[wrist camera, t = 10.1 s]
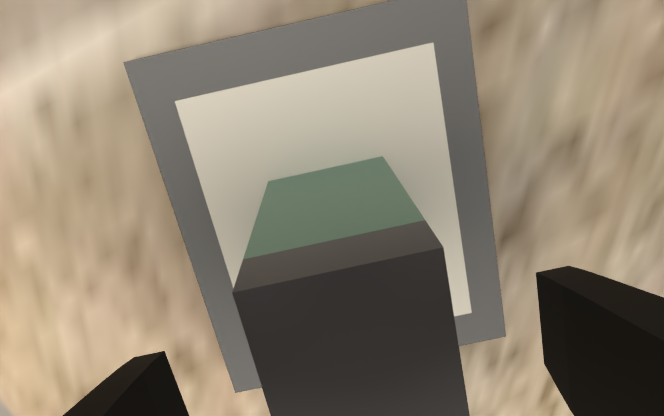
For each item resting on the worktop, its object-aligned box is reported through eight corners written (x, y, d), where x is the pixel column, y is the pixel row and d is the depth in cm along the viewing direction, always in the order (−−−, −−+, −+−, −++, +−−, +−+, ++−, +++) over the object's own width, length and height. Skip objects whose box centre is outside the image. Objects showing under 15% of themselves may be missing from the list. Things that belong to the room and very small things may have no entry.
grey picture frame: (455, -13, 16) (466, -18, 15) (496, 322, 20) (508, 339, 19) (134, 61, 16) (121, 62, 15) (238, 376, 20) (234, 396, 19)
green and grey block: (382, 156, 17) (443, 247, 9) (402, 261, 18) (469, 419, 10) (268, 181, 17) (232, 292, 9) (295, 283, 18) (284, 457, 10)
